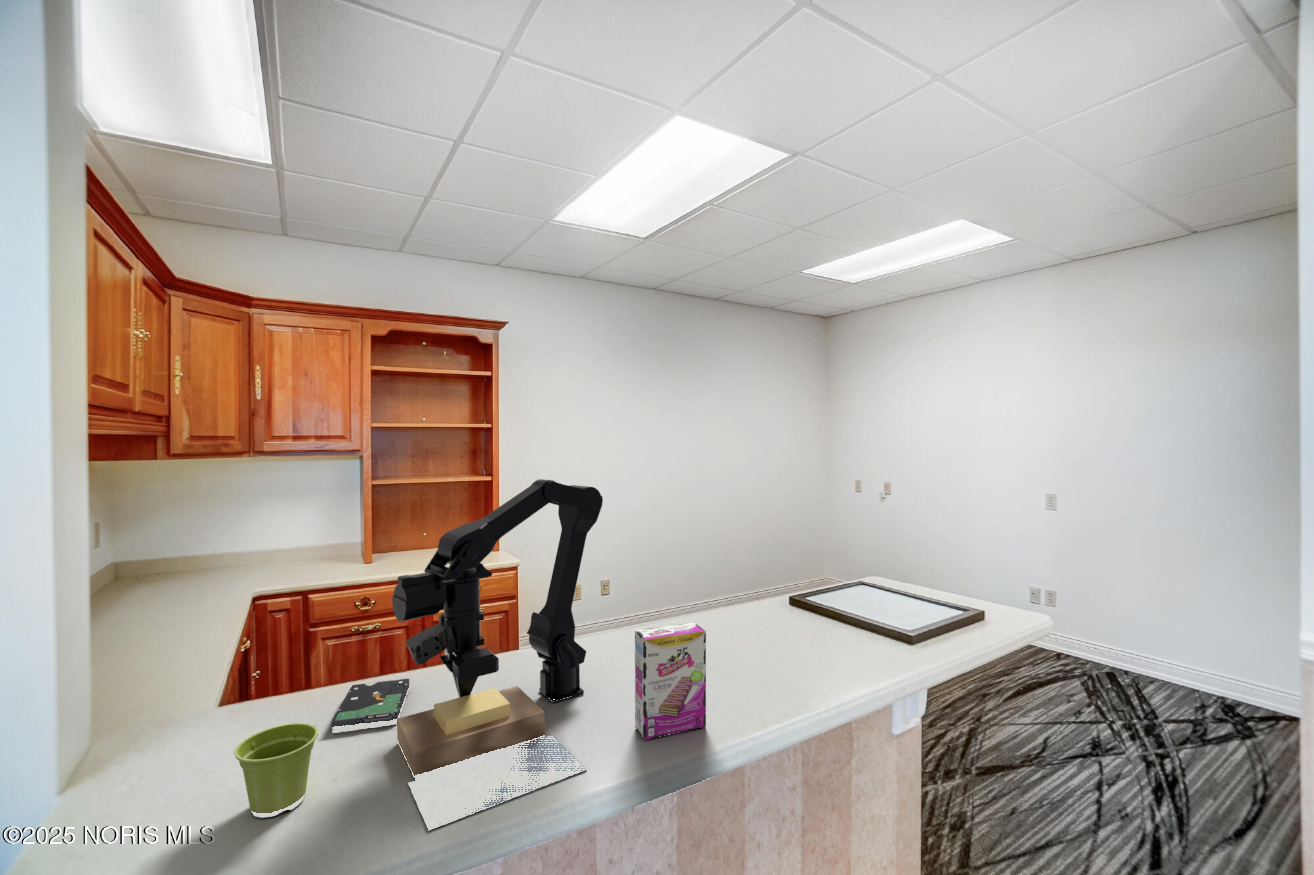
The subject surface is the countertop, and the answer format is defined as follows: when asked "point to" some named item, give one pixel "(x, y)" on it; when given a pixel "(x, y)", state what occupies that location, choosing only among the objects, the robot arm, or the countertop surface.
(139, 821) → the countertop surface
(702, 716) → the candy bar box
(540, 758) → the mat
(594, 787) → the countertop surface
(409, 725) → the deck
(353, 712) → the disk drive
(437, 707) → the block
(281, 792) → the plant pot
